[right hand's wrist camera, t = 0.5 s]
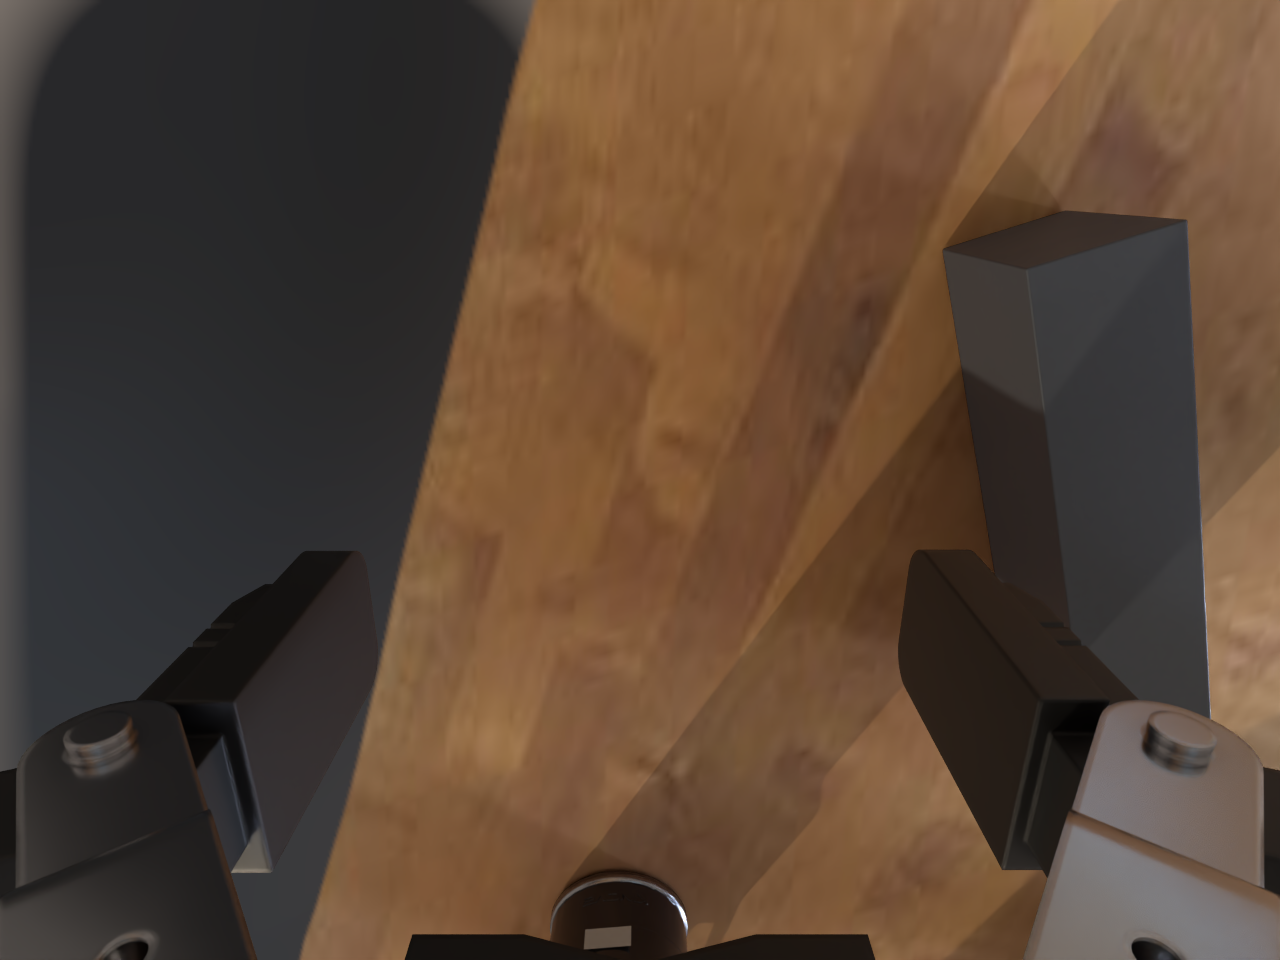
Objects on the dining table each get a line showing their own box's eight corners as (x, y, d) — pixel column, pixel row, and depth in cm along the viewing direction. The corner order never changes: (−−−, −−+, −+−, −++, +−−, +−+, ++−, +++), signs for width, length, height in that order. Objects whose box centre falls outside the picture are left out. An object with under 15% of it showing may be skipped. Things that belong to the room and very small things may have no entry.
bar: (1109, 628, 44) (1212, 726, 36) (1007, 653, 45) (1086, 756, 37) (1066, 209, 36) (1188, 219, 28) (941, 248, 37) (1025, 268, 29)
